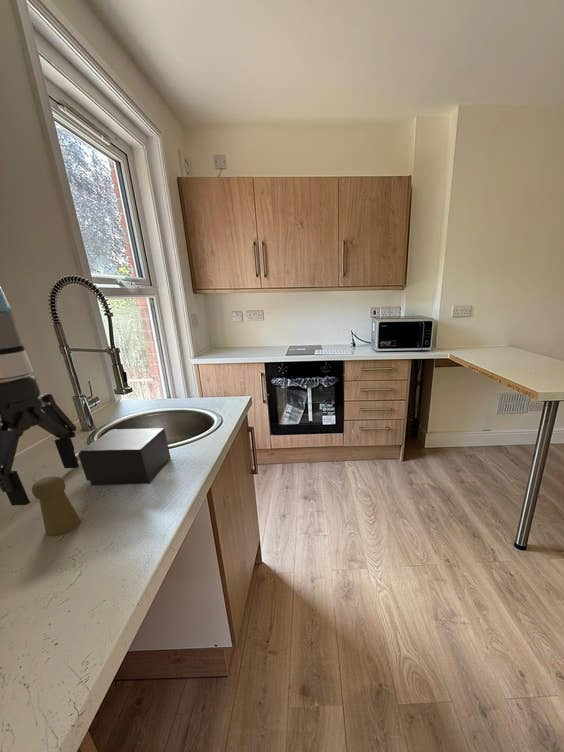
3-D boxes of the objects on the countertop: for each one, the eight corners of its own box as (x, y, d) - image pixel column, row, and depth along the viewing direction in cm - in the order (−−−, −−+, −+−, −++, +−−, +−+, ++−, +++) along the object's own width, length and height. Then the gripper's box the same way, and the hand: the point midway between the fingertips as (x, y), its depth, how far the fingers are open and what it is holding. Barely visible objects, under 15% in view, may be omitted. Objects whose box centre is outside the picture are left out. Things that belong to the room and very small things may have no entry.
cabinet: (91, 485, 87) (79, 450, 83) (120, 460, 100) (111, 429, 96) (149, 484, 87) (140, 449, 83) (171, 459, 100) (164, 428, 96)
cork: (81, 528, 71) (64, 481, 67) (44, 539, 68) (24, 491, 64) (80, 513, 76) (64, 469, 72) (46, 524, 73) (27, 478, 69)
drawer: (69, 481, 87) (59, 453, 84) (99, 458, 99) (91, 433, 96) (140, 479, 87) (133, 451, 84) (161, 457, 99) (155, 432, 96)
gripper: (39, 363, 71) (72, 455, 80) (-95, 400, 48) (-30, 524, 57) (75, 362, 71) (104, 454, 80) (-42, 398, 48) (15, 523, 57)
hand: (48, 484), depth 68 cm, fingers open, 13 cm apart
